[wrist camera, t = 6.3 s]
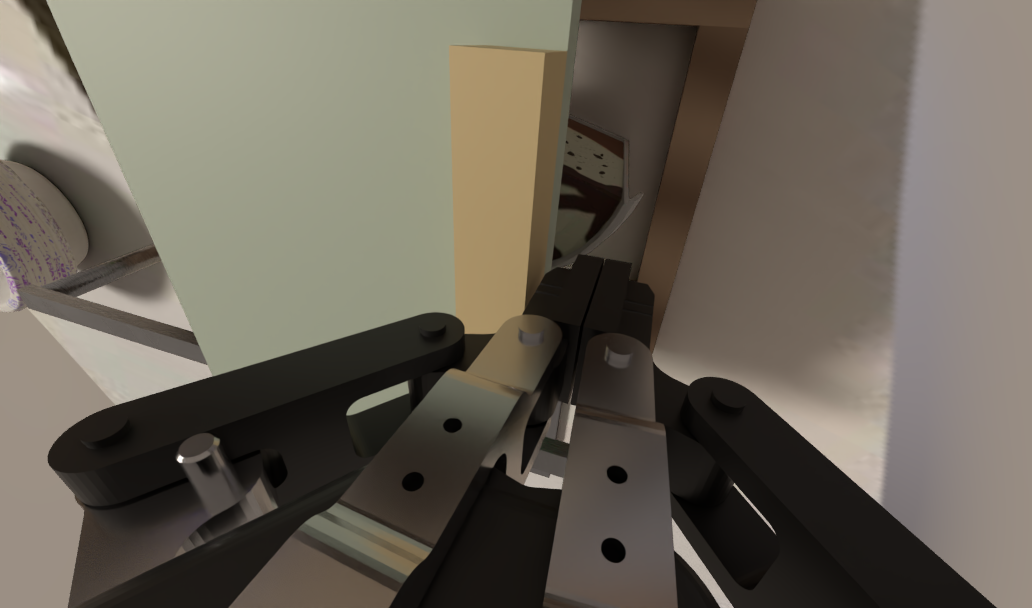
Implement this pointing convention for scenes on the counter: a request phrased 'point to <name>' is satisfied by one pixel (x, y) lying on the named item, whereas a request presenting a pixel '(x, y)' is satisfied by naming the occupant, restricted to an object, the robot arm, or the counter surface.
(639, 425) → the robot arm
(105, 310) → the cover rails
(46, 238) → the paper bowls
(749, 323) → the counter surface
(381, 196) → the sliding cover
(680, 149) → the wooden base board
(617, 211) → the food container
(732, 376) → the counter surface
